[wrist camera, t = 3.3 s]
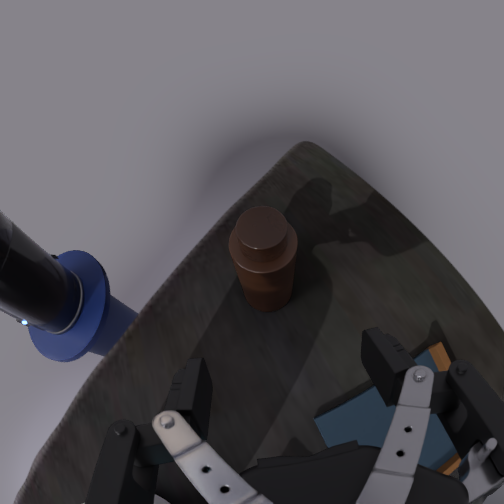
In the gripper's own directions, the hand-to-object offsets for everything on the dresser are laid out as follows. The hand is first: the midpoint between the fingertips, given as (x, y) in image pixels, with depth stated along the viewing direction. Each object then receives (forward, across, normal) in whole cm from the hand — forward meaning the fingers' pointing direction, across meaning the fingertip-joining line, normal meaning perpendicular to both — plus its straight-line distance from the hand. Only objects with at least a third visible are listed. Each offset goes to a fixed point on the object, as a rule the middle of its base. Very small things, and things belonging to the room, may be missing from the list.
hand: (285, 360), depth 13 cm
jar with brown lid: (+16, 0, +3) cm, 17 cm away
